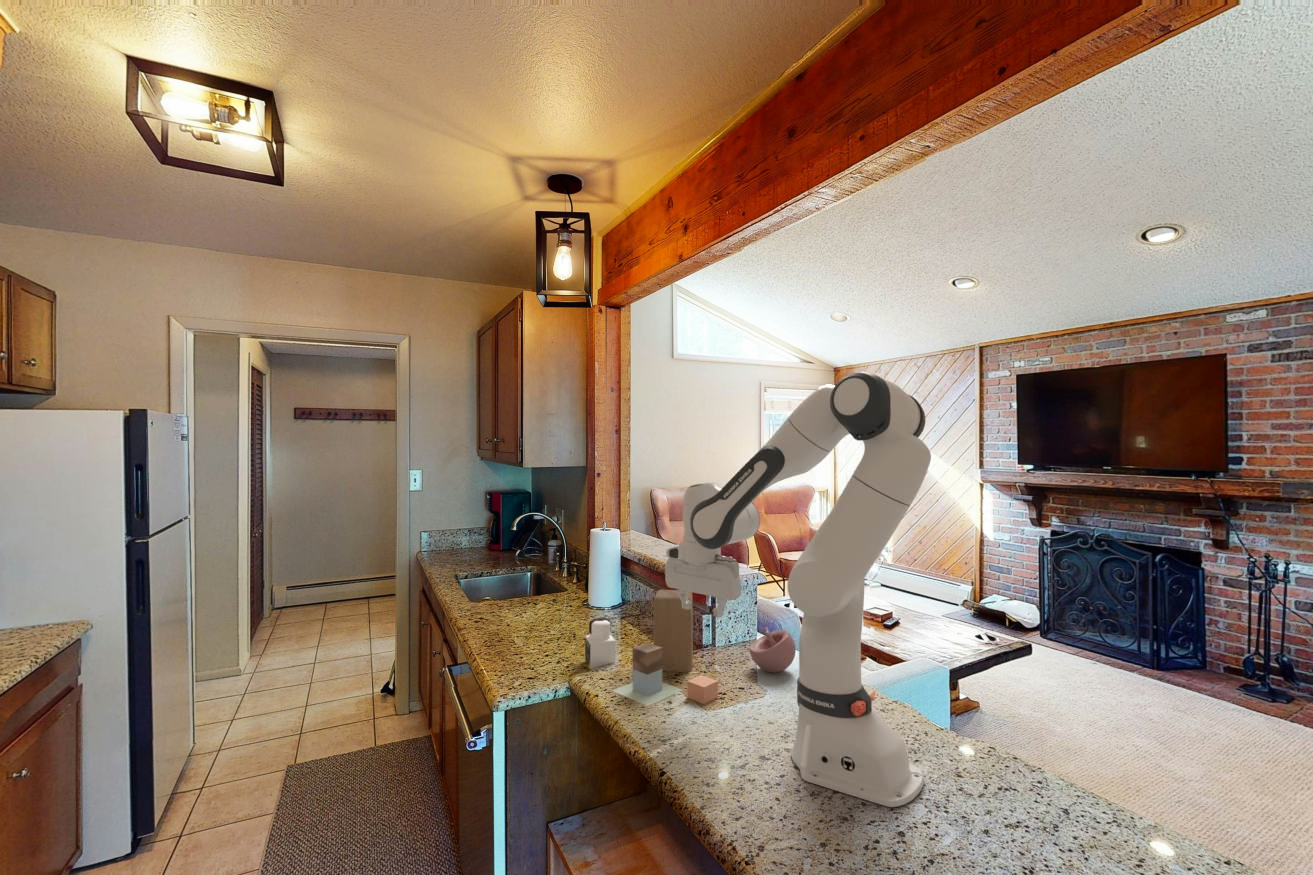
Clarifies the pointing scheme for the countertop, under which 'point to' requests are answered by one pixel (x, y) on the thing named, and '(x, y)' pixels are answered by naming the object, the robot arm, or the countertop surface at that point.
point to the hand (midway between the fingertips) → (701, 612)
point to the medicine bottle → (599, 644)
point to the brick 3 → (702, 689)
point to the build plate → (629, 693)
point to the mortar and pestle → (773, 650)
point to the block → (673, 630)
